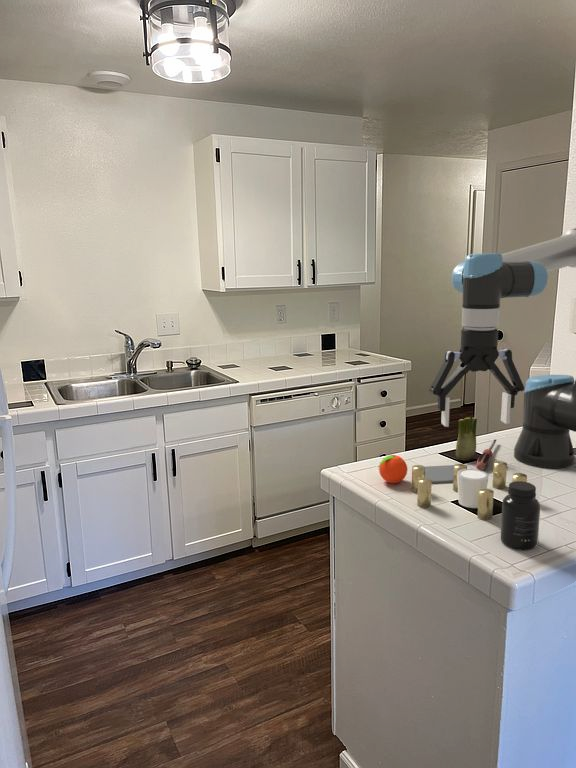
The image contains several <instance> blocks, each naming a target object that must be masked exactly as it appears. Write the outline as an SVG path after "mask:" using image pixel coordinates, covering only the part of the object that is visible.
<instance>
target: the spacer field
mask: <svg viewBox="0 0 576 768" xmlns="http://www.w3.org/2000/svg"><path fill="white" fill-rule="evenodd" d="M453 465H454V476H453V482H452V484H453V485H452V490H453V491H454V492H456V493H458V483H457V472H458V471H460V470H463V469H468V465H467V464H464V463H455V464H453ZM425 467H426V466H424V465H419V464H415V465H412V468H411V492H412V493H414V494H416V495H417V498H416V499H417V502H416V503H417V504H416V505H417V507H418V508H421V509H429V508H430V507H432V485H433V484H432V480H431V479H428V478H425ZM492 471H493V472H492V485H491V486H492V488H493V489H497V490H504V489H506V486H507V485H506V484H507V473H508V472H507V471H508V462H506V461H502V460H497V461H496V460H494V462H493V470H492ZM511 481H512V482H515V481H523V482H528V475H527V474H525V473H522V472H521V473H520V472H515V473H512V480H511ZM493 489H490V488H488V487H487V488H482V489H479V496H478V508H477V518H478V519H479V520H482V521H491V520H492V519H493V511H494V510H493V509H494V494H495V493H494V490H493Z"/></svg>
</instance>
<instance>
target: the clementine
mask: <svg viewBox="0 0 576 768" xmlns="http://www.w3.org/2000/svg"><path fill="white" fill-rule="evenodd" d="M378 471H379V475H380V477H381V478H382V479H383V480H384V481H385V482H386V483H390V484H397V483H400V482H402V481H404V479H405V478H406V476H407V474H408V464H407V463H406V461H405V460H404V459H403V458H402V457H401V456H399V455H396V454H390V455H387V456H385V457H383V459H382V460H381V461H380V463H379V466H378Z"/></svg>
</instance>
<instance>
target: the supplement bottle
mask: <svg viewBox="0 0 576 768" xmlns="http://www.w3.org/2000/svg"><path fill="white" fill-rule="evenodd" d="M536 492H537V487H536V485H534V484H532V483H531V482H528V481H527V482H523V481H515V482H510V483H509V484H508V491H507V495H506V496H504V497H503V499H502V502H501V503H502V505H501V517H500V518H501V519H500V520H501V522H500V541H501V543H502V544H504V546H506V547H508V548H510V549H513V550H517V551H530V550H533V549H535V548H536V547H537V545H538V544H539V543H538V542H539V529H540V517H541V516H540V515H541V514H540V513H541V504H540V502H539V500H538V499H537V498H536V496H537V493H536Z"/></svg>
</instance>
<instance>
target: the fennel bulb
mask: <svg viewBox="0 0 576 768" xmlns="http://www.w3.org/2000/svg"><path fill="white" fill-rule="evenodd" d="M477 422H478V418H477V417H472V418H471V417H464V419H463V418H461V419H459V420H458V437H457V440H456V446H455V447H456V448H455V457H456V458H457V459H458V460H459V461H464V462H467V461H470V462H471V461H473V460H474V459H475V457H476V453H477Z"/></svg>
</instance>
